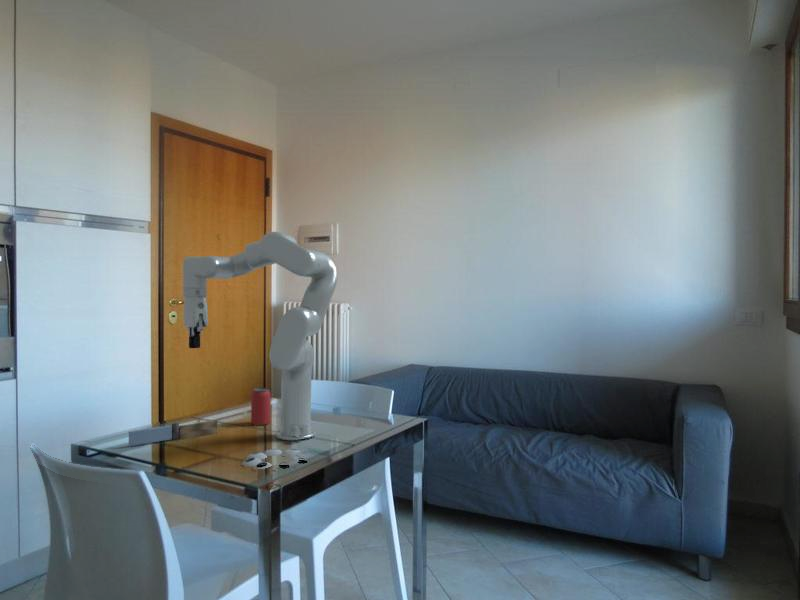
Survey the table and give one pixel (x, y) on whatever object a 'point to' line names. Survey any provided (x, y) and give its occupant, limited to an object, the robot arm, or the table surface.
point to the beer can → (260, 406)
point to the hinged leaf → (150, 435)
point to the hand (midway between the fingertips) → (194, 347)
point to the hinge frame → (193, 430)
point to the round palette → (257, 457)
